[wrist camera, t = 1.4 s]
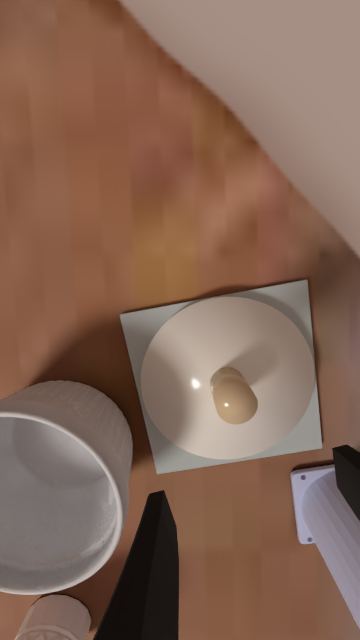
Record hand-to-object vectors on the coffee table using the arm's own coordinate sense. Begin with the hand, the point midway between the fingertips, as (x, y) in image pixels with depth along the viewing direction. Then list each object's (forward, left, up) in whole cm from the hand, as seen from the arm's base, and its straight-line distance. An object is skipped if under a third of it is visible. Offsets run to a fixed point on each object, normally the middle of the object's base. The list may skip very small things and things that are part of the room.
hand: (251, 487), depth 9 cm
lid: (-1, 0, -10) cm, 10 cm away
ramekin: (+14, +3, -10) cm, 17 cm away
